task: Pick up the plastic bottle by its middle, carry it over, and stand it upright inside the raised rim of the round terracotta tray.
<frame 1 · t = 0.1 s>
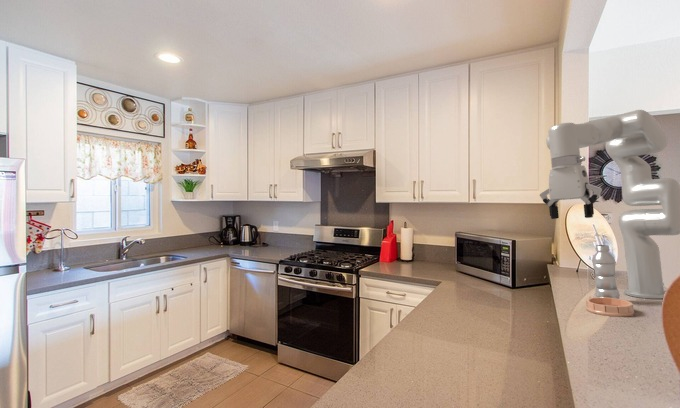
hand: (571, 218, 101), 31 cm above the countertop, tool pointing down, fingers open, 9 cm apart
plastic bottle: (608, 302, 115), on the countertop
round tray: (609, 311, 106), on the countertop
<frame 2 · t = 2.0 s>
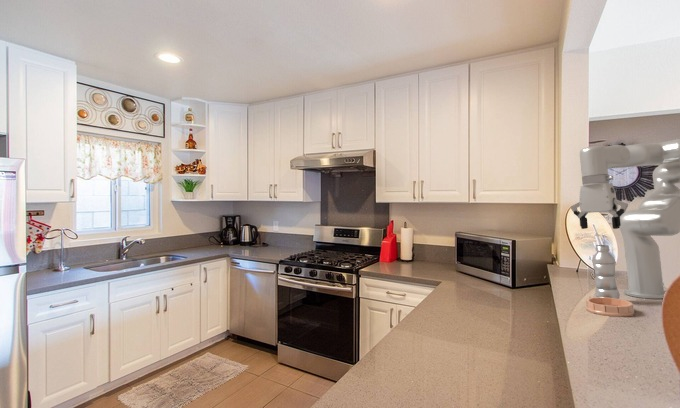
hand: (599, 228, 116), 26 cm above the countertop, tool pointing down, fingers open, 9 cm apart
nothing on the countertop moved.
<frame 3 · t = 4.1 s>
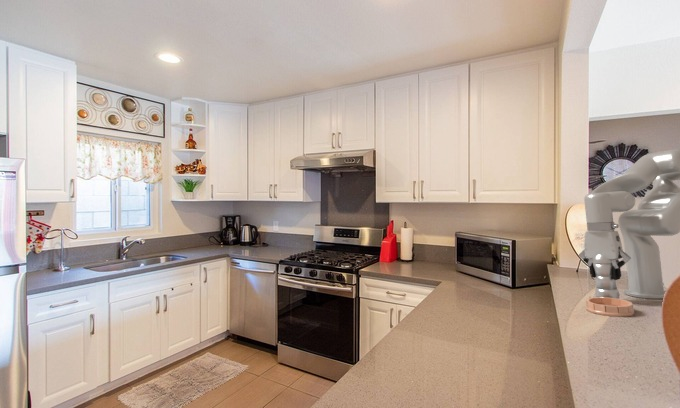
hand: (605, 277, 116), 9 cm above the countertop, tool pointing down, fingers closed on plastic bottle, 6 cm apart
plastic bottle: (608, 302, 115), on the countertop, touching gripper
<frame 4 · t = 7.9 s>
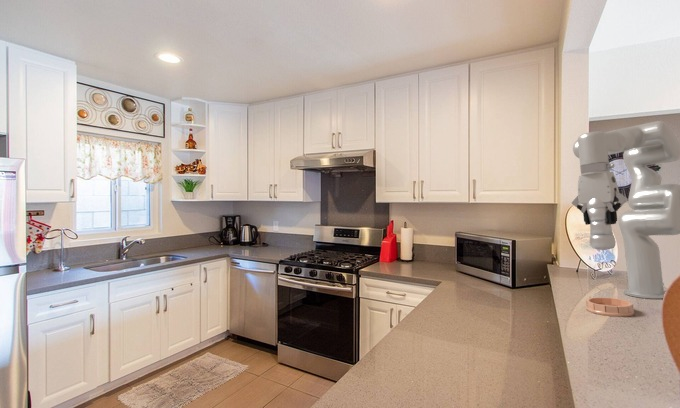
hand: (600, 223, 107), 28 cm above the countertop, tool pointing down, fingers closed on plastic bottle, 6 cm apart
plastic bottle: (603, 250, 107), point 20 cm above the countertop, touching gripper
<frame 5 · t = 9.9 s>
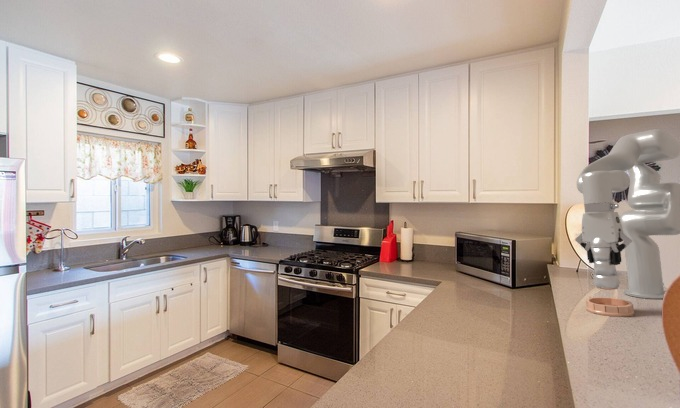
hand: (604, 263, 106), 16 cm above the countertop, tool pointing down, fingers closed on plastic bottle, 6 cm apart
plastic bottle: (607, 290, 106), point 7 cm above the countertop, touching gripper
when the fingers open (11 cm above the countertop, at t = 11.8 s): plastic bottle drops 1 cm, resting on round tray.
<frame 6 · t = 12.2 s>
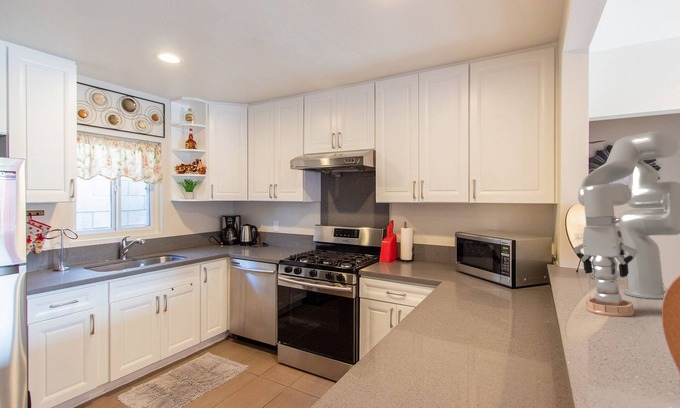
hand: (605, 274, 106), 12 cm above the countertop, tool pointing down, fingers open, 9 cm apart
plastic bottle: (609, 308, 106), point 1 cm above the countertop, touching round tray
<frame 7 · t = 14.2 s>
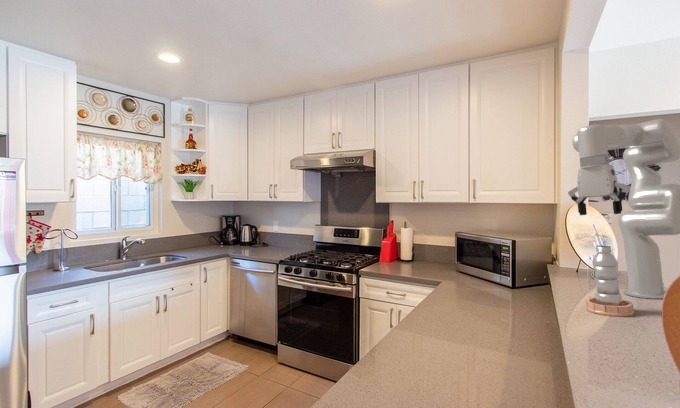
hand: (599, 214, 107), 31 cm above the countertop, tool pointing down, fingers open, 9 cm apart
nothing on the countertop moved.
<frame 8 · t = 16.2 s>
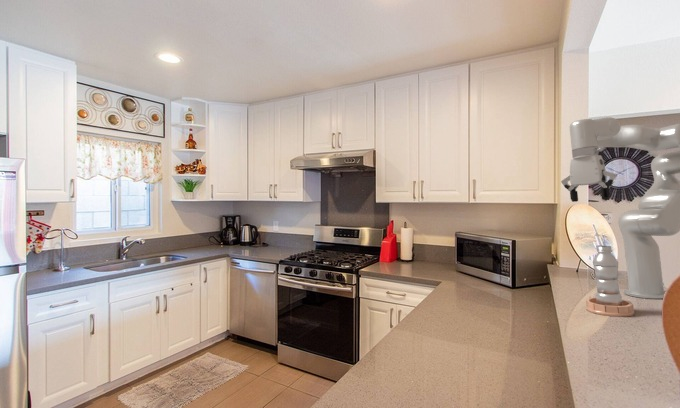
hand: (589, 200, 118), 36 cm above the countertop, tool pointing down, fingers open, 9 cm apart
nothing on the countertop moved.
at the end: plastic bottle 0.2 cm off-centre on the round tray, point 0.8 cm above the round tray's base; plastic bottle tilted 0°; the gripper is holding nothing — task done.
